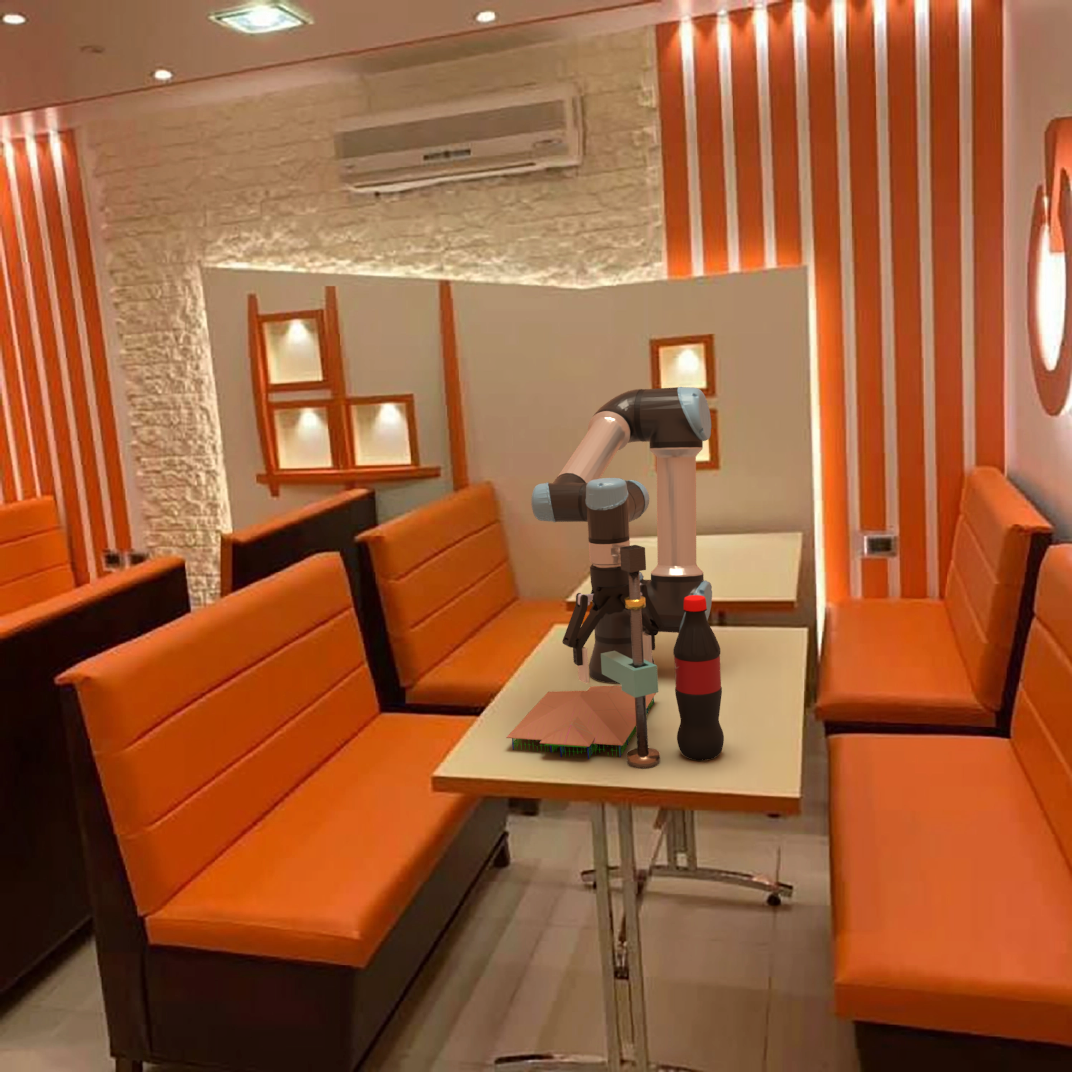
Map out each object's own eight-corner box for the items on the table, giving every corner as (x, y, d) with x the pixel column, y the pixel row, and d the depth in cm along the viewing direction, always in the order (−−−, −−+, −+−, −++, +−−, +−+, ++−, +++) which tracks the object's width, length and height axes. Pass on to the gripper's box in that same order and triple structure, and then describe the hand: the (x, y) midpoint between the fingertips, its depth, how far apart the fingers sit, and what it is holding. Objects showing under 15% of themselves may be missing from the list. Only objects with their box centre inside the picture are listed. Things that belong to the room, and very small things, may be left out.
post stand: (621, 759, 192) (609, 547, 185) (648, 752, 195) (638, 542, 187) (637, 771, 187) (626, 552, 179) (666, 763, 189) (656, 547, 182)
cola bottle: (719, 743, 196) (713, 589, 191) (728, 761, 188) (723, 600, 183) (674, 747, 196) (667, 592, 191) (682, 765, 188) (675, 604, 182)
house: (502, 759, 198) (499, 718, 196) (555, 699, 228) (553, 663, 227) (620, 767, 190) (617, 725, 188) (658, 704, 221) (657, 667, 219)
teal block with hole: (597, 677, 197) (596, 651, 196) (619, 672, 199) (618, 647, 198) (635, 697, 185) (633, 670, 184) (658, 692, 187) (656, 665, 186)
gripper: (558, 576, 183) (565, 692, 187) (679, 556, 193) (683, 666, 197) (540, 569, 190) (547, 681, 194) (657, 550, 200) (662, 657, 204)
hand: (616, 674), depth 195 cm, fingers open, 13 cm apart
